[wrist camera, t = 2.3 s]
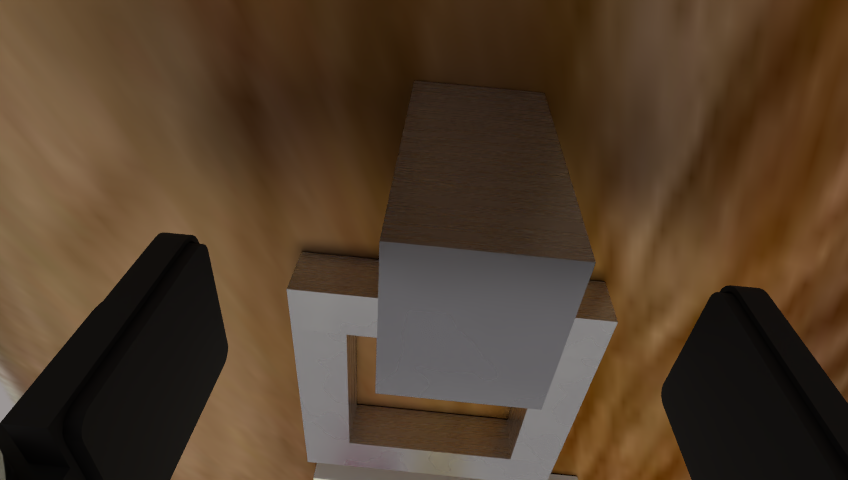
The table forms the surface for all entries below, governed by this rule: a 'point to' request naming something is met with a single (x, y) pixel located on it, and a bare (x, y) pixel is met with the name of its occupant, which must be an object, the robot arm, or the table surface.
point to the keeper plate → (388, 474)
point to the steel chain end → (458, 299)
